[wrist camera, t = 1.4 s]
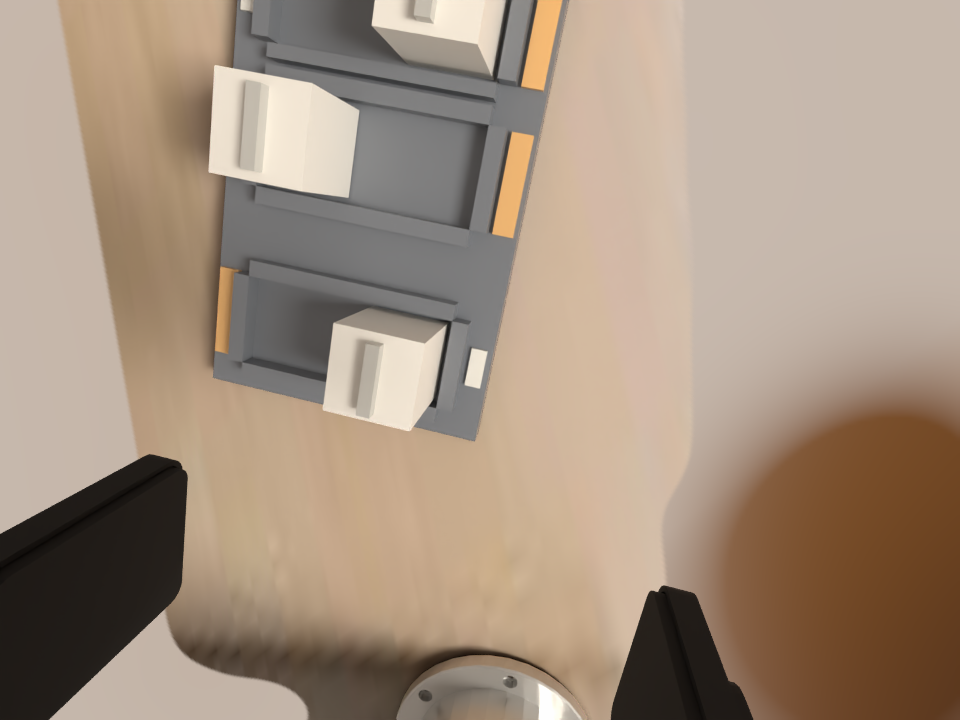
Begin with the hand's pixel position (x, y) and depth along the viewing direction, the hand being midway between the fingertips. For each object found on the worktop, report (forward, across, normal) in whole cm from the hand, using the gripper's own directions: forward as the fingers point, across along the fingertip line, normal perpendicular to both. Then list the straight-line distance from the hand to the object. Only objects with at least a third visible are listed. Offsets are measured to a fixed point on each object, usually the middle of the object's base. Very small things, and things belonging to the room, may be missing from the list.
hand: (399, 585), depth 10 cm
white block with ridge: (+17, +11, -9) cm, 22 cm away
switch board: (+19, +8, -7) cm, 21 cm away
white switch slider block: (+18, +5, 0) cm, 18 cm away
